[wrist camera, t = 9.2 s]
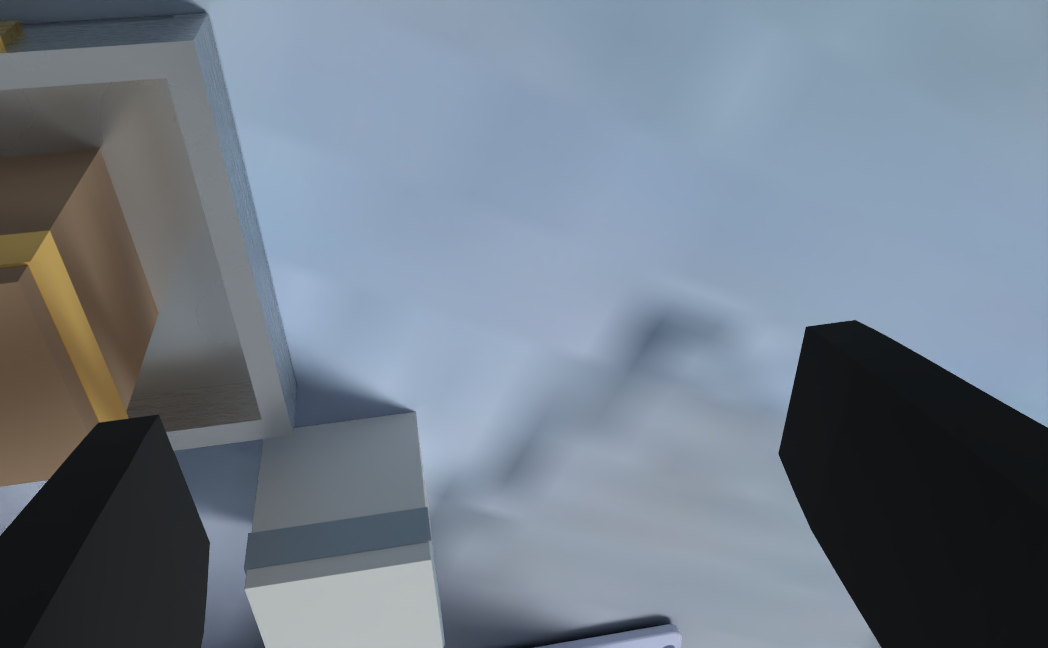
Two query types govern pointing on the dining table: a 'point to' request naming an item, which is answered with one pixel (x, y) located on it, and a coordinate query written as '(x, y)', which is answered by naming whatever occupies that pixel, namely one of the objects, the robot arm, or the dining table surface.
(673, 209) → the dining table surface
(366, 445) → the grey block
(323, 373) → the dining table surface
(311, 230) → the dining table surface
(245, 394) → the parts tray
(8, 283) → the walnut block
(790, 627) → the dining table surface
